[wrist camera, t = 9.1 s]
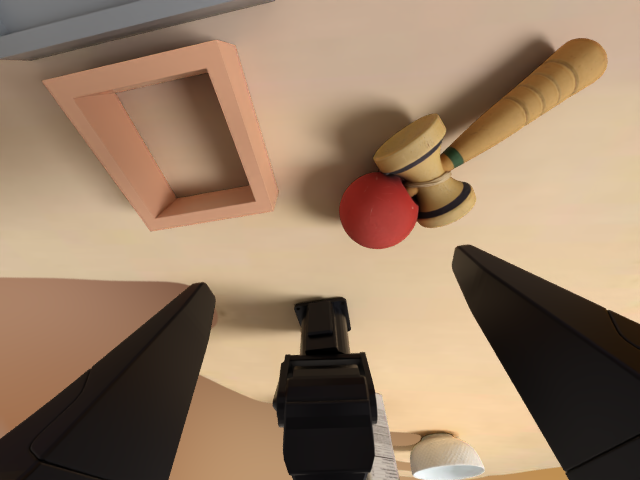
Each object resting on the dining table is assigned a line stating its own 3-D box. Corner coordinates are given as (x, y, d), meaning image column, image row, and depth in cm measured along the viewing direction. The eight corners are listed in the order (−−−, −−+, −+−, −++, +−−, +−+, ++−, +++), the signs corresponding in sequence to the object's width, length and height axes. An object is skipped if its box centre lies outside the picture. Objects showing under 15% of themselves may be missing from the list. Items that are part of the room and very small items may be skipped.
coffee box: (355, 410, 50) (369, 529, 37) (330, 404, 48) (335, 528, 35) (383, 394, 46) (411, 523, 33) (357, 387, 44) (375, 522, 31)
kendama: (524, -5, 15) (309, 186, 19) (659, -31, 10) (330, 231, 14) (531, 102, 19) (357, 235, 24) (625, 120, 15) (386, 282, 19)
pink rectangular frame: (278, 191, 21) (273, 211, 18) (172, 210, 21) (150, 231, 19) (235, 45, 15) (216, 39, 12) (91, 78, 16) (41, 80, 13)
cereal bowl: (437, 422, 56) (451, 462, 50) (483, 432, 61) (500, 470, 55) (391, 442, 65) (398, 478, 59) (435, 449, 70) (446, 483, 64)
